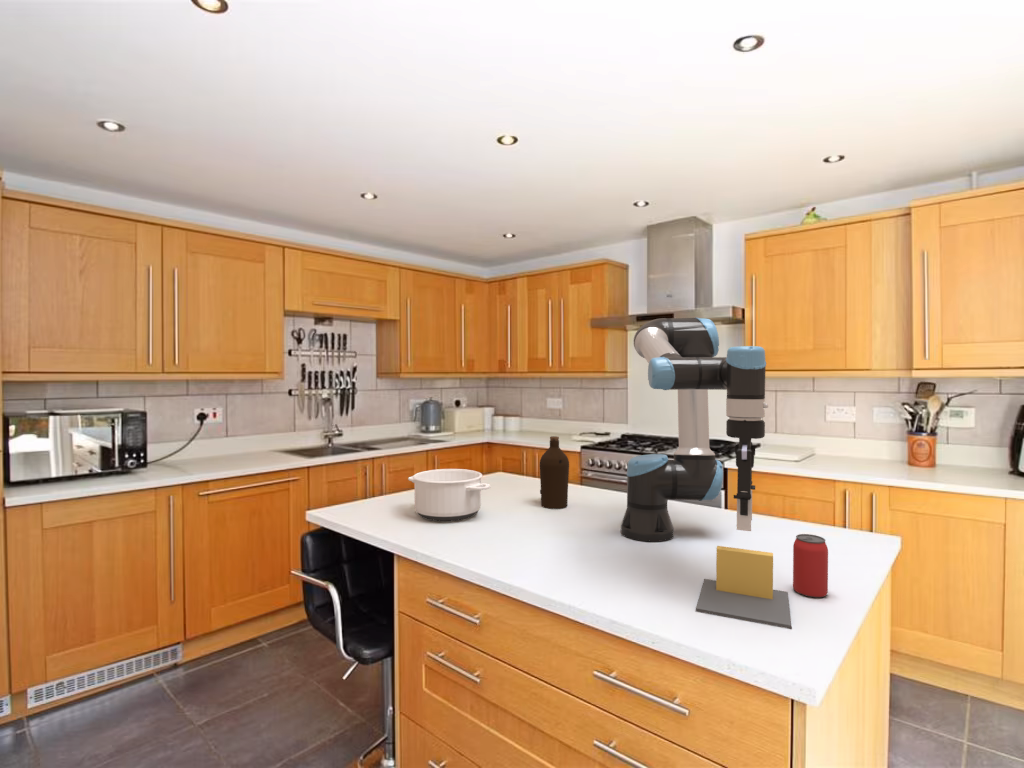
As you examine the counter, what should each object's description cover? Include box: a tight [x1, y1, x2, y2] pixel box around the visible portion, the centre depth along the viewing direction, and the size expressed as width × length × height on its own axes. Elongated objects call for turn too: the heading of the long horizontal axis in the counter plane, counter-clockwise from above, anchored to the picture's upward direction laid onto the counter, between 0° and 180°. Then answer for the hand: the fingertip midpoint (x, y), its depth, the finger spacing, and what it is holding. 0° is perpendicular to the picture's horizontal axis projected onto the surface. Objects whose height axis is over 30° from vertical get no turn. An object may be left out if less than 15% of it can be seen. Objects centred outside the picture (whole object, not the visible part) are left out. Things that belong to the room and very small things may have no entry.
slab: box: [715, 545, 774, 599], centre depth 113 cm, size 11×2×9 cm, turn 65°
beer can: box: [792, 533, 829, 599], centre depth 115 cm, size 7×7×12 cm
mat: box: [695, 578, 793, 630], centre depth 110 cm, size 17×17×1 cm
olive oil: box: [539, 435, 570, 510], centre depth 191 cm, size 11×11×25 cm
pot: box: [407, 468, 491, 523], centre depth 178 cm, size 33×23×14 cm
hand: (744, 524), depth 113 cm, fingers open, 8 cm apart
